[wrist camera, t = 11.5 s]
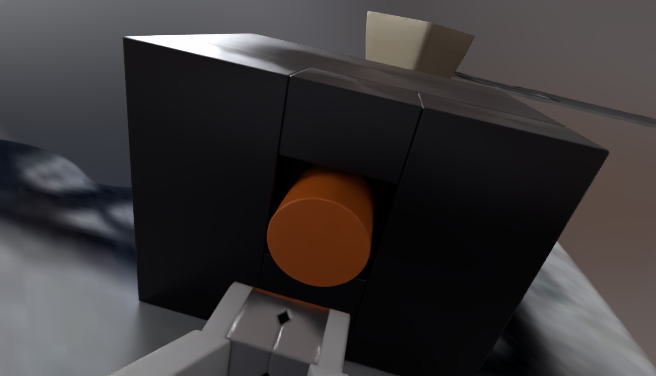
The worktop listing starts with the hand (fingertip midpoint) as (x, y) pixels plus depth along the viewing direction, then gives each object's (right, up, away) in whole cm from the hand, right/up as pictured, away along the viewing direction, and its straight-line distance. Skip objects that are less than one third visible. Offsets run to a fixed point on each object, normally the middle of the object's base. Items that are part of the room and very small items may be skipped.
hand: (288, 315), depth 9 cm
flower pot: (+20, +27, +80) cm, 86 cm away
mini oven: (+1, -2, +13) cm, 13 cm away
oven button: (+1, 0, +5) cm, 5 cm away
